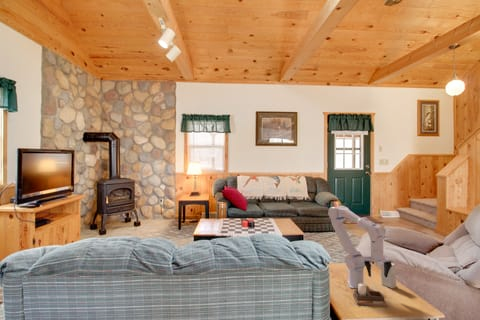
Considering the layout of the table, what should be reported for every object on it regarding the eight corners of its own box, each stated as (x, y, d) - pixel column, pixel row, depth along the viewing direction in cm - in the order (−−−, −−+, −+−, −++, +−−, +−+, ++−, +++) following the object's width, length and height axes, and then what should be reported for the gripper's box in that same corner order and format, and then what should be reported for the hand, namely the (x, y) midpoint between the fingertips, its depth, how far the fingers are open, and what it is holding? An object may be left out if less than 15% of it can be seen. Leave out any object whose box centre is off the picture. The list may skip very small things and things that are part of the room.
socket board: (353, 295, 142) (352, 289, 142) (380, 297, 140) (380, 291, 140) (357, 304, 133) (357, 298, 133) (387, 306, 131) (386, 300, 131)
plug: (357, 295, 140) (357, 283, 140) (365, 295, 139) (365, 283, 140) (359, 298, 137) (359, 286, 137) (366, 299, 136) (367, 286, 136)
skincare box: (396, 286, 151) (396, 264, 151) (391, 288, 149) (391, 265, 149) (385, 282, 156) (385, 260, 156) (380, 284, 154) (380, 262, 154)
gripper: (363, 251, 140) (364, 278, 139) (395, 252, 137) (396, 280, 137) (360, 247, 147) (360, 273, 146) (390, 248, 144) (390, 274, 144)
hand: (377, 276), depth 142 cm, fingers open, 7 cm apart
